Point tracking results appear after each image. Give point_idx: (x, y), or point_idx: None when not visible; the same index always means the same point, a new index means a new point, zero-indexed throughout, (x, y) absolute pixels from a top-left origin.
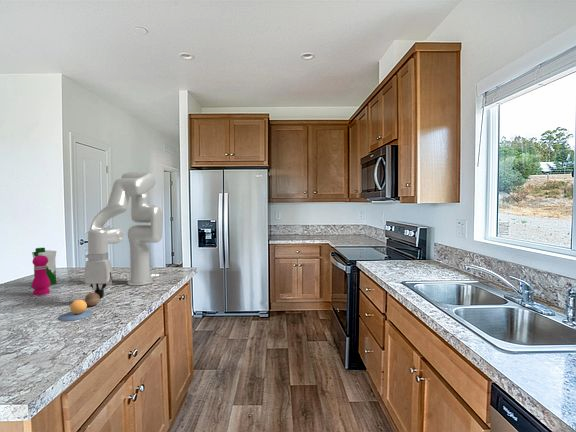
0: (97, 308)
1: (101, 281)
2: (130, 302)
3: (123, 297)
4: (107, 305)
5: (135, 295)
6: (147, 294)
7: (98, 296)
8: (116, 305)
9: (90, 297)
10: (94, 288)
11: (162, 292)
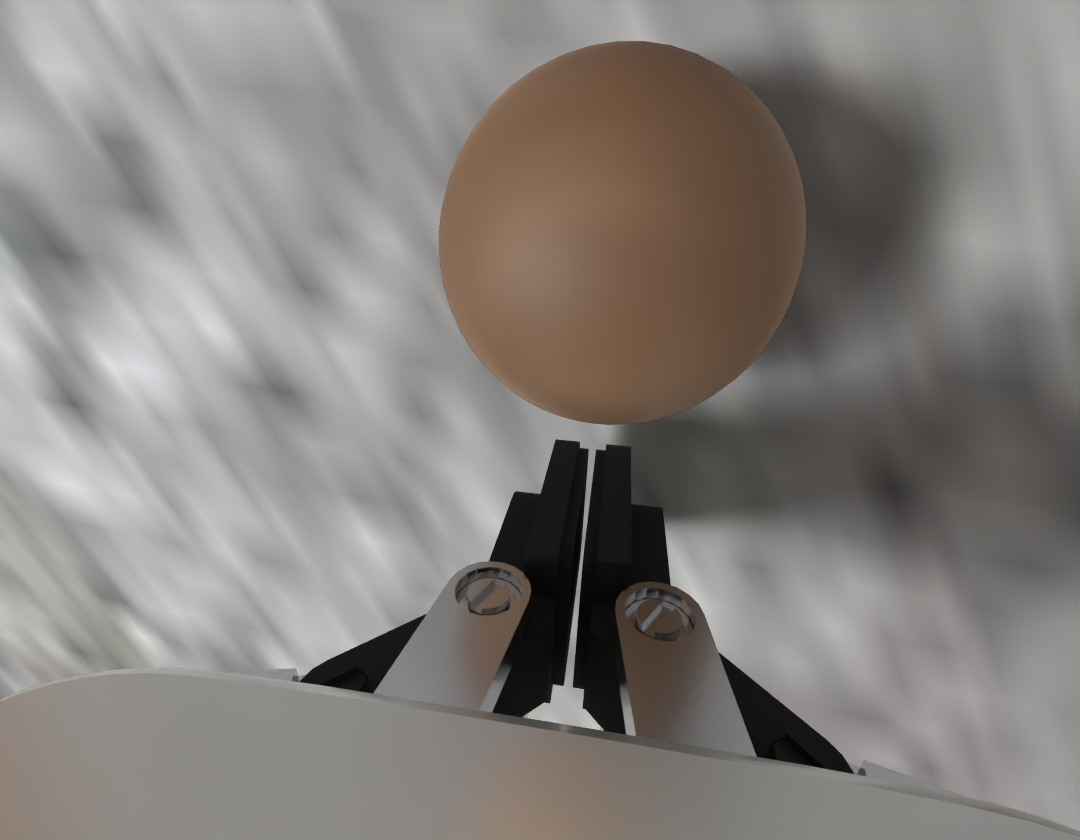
0: (420, 8)
1: (180, 772)
2: (75, 349)
3: (339, 604)
4: (337, 220)
5: (238, 651)
6: (122, 656)
7: (440, 261)
8: (177, 200)
9: (587, 66)
10: (671, 630)
11: (16, 686)
